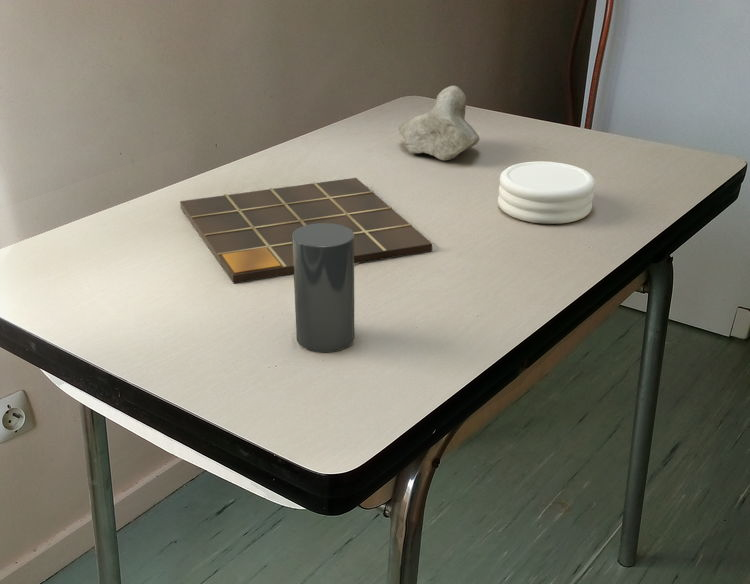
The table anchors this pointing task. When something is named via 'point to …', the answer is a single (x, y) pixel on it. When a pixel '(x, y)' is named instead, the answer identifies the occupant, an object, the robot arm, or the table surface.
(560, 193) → the white ribbed disc
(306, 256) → the glossy charcoal cylinder
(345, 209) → the board
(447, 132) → the stone
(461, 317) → the table surface
